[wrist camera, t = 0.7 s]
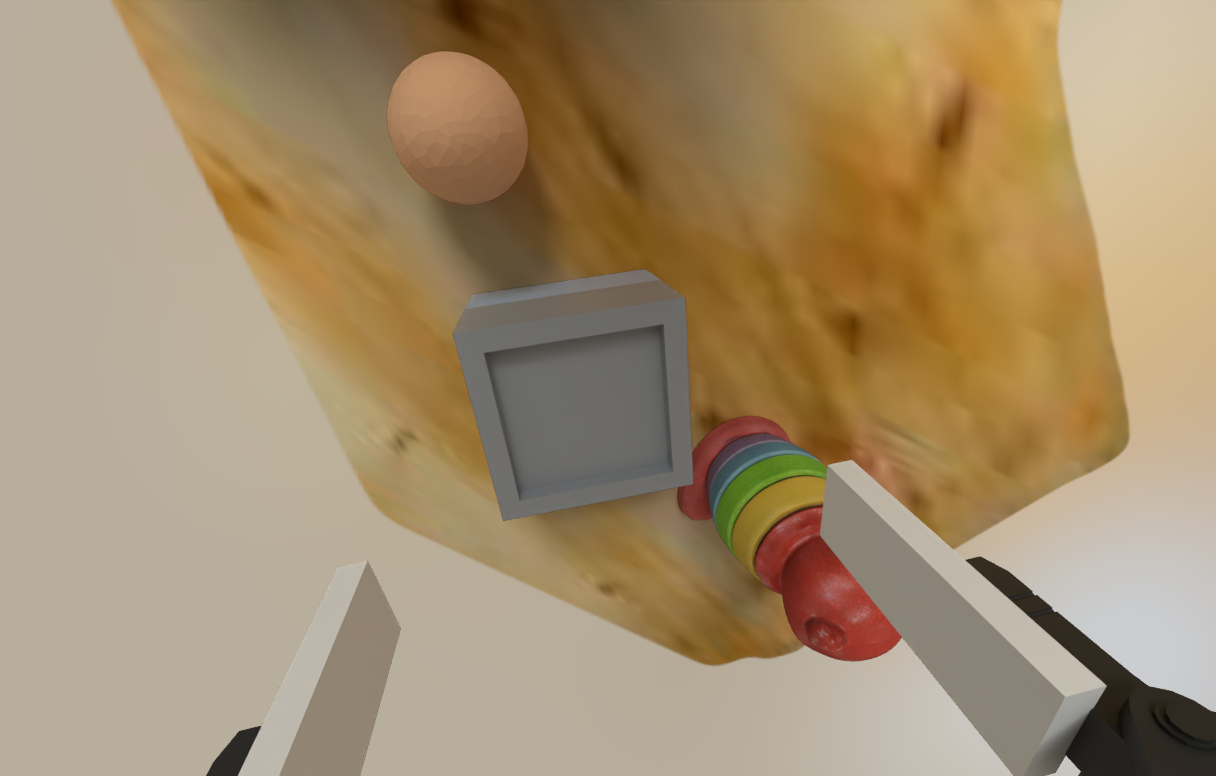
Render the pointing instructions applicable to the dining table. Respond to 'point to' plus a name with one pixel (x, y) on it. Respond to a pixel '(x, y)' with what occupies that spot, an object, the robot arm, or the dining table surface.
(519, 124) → the egg
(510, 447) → the grey square tray
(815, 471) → the stacking bear
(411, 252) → the dining table surface
